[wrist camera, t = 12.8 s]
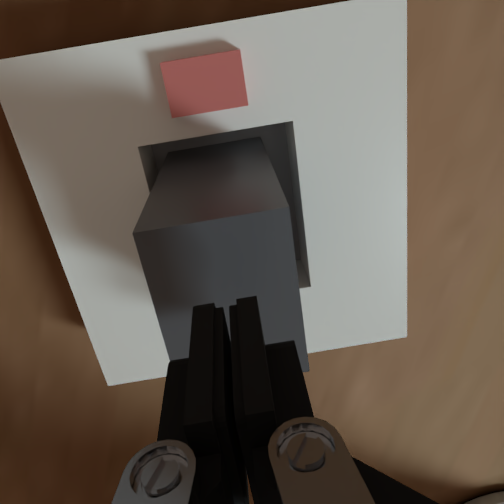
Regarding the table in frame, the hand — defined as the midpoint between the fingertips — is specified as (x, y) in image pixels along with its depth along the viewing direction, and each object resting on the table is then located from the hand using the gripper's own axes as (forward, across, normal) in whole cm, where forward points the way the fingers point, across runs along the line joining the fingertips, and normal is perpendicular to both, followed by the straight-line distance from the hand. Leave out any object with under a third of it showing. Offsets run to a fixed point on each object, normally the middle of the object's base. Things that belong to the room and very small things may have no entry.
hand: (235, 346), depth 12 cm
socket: (+13, 0, 0) cm, 13 cm away
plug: (+12, 0, +2) cm, 12 cm away
